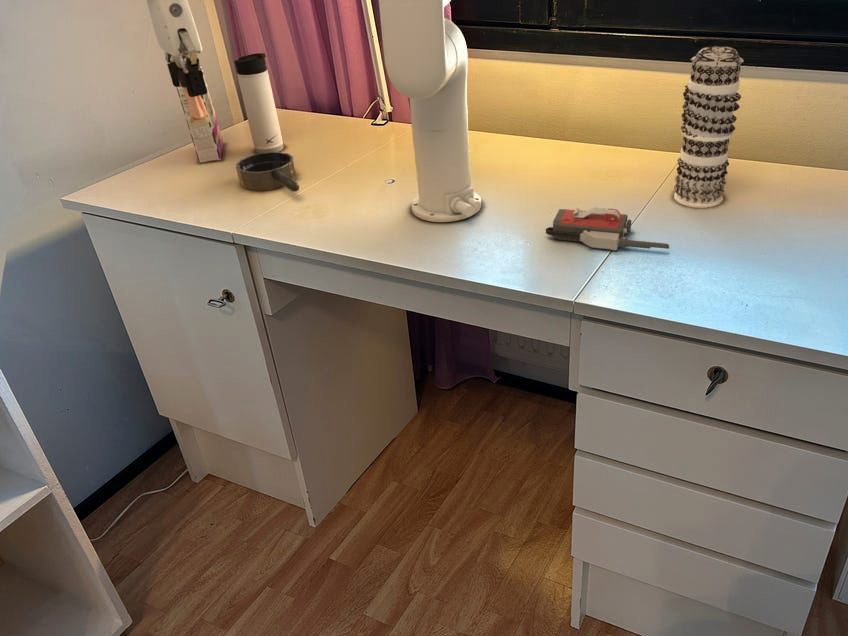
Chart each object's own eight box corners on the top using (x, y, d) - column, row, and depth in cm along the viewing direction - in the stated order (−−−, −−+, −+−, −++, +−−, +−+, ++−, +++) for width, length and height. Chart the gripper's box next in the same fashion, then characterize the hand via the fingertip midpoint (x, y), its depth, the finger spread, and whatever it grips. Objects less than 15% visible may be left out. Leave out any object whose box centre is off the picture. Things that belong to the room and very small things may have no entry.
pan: (305, 181, 146) (302, 162, 143) (253, 197, 141) (248, 177, 138) (283, 166, 153) (279, 147, 151) (232, 180, 148) (227, 161, 146)
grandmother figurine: (219, 121, 132) (199, 47, 125) (200, 127, 130) (179, 52, 123) (197, 113, 137) (177, 41, 129) (178, 119, 135) (157, 46, 127)
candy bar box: (201, 146, 165) (180, 71, 156) (224, 143, 166) (204, 68, 156) (197, 164, 156) (174, 85, 147) (221, 161, 157) (200, 82, 147)
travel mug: (278, 155, 158) (257, 58, 147) (250, 154, 160) (227, 58, 148) (290, 144, 163) (270, 50, 152) (262, 144, 165) (241, 50, 153)
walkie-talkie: (541, 245, 119) (667, 258, 113) (542, 220, 116) (670, 232, 111) (554, 222, 125) (673, 232, 120) (554, 197, 123) (676, 208, 117)
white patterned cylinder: (661, 200, 130) (677, 52, 116) (688, 183, 136) (706, 40, 121) (708, 213, 125) (730, 60, 110) (734, 195, 130) (758, 47, 116)
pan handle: (301, 191, 136) (299, 182, 135) (292, 194, 135) (290, 184, 134) (280, 176, 143) (278, 167, 142) (271, 178, 142) (269, 170, 141)
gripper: (200, -17, 116) (228, 96, 126) (167, -28, 127) (195, 76, 138) (152, -10, 112) (185, 105, 123) (122, -22, 124) (155, 84, 134)
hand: (190, 89), depth 130 cm, fingers closed on grandmother figurine, 8 cm apart
